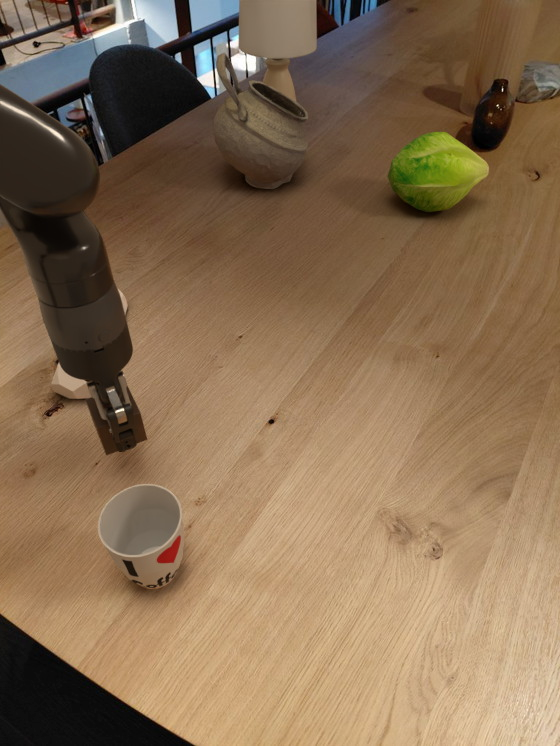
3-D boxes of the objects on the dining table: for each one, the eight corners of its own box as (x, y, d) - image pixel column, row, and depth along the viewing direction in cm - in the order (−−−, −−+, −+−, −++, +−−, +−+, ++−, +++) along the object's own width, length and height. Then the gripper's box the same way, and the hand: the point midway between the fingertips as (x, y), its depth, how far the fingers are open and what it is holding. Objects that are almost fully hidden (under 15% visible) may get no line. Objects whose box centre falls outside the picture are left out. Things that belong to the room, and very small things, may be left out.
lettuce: (489, 221, 117) (501, 166, 105) (390, 231, 119) (391, 179, 108) (477, 172, 124) (487, 117, 113) (384, 183, 127) (384, 130, 115)
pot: (200, 189, 125) (187, 65, 107) (240, 153, 139) (235, 37, 121) (286, 208, 119) (288, 80, 102) (320, 168, 133) (326, 49, 115)
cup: (125, 614, 59) (105, 569, 52) (111, 547, 64) (91, 498, 57) (201, 586, 61) (191, 539, 54) (181, 523, 66) (170, 473, 59)
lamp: (314, 118, 155) (322, -50, 129) (310, 146, 142) (318, -34, 116) (247, 115, 156) (241, -52, 130) (236, 142, 143) (228, -36, 117)
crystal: (69, 282, 93) (29, 387, 76) (102, 263, 91) (68, 366, 74) (100, 312, 98) (69, 417, 81) (133, 295, 96) (107, 399, 79)
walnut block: (106, 455, 66) (96, 428, 63) (94, 426, 69) (85, 398, 66) (147, 439, 68) (140, 412, 64) (134, 412, 71) (127, 384, 67)
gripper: (33, 294, 60) (74, 403, 71) (66, 380, 51) (106, 488, 63) (103, 275, 62) (132, 383, 74) (146, 353, 53) (170, 462, 65)
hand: (120, 431), depth 68 cm, fingers closed on walnut block, 5 cm apart
